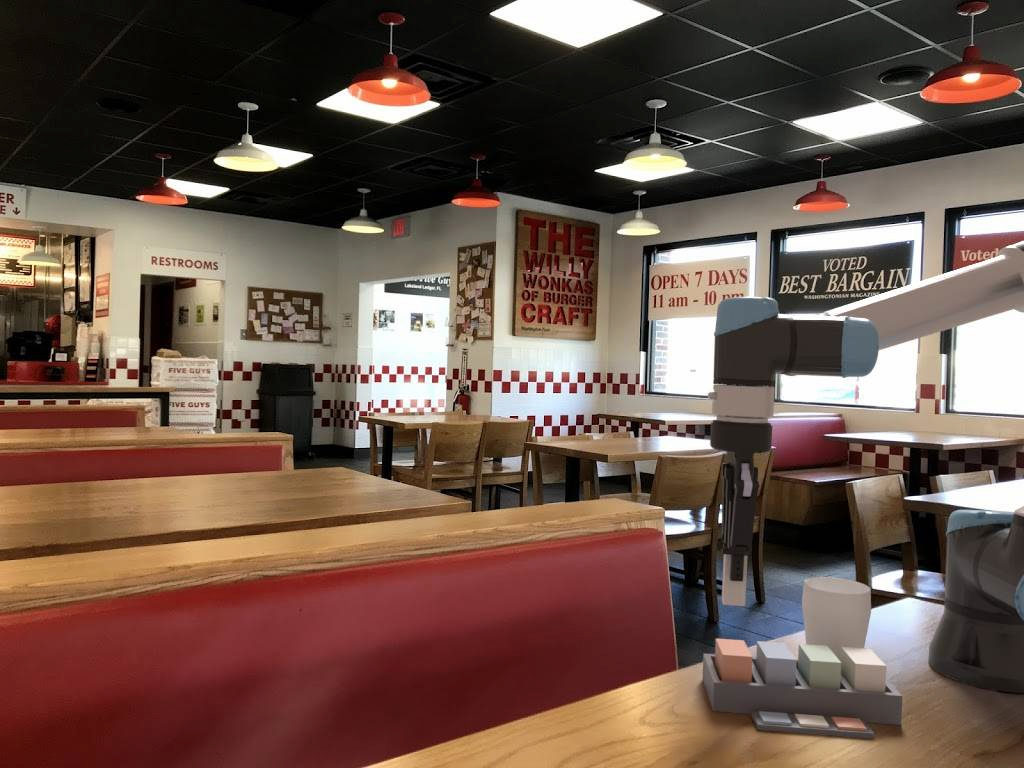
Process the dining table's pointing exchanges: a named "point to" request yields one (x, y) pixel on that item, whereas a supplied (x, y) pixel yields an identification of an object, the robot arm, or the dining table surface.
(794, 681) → the key slate
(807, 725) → the strip
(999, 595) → the robot arm
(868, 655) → the key ivory
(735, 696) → the keypad
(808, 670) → the key sage
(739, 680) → the key terracotta
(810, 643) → the cup
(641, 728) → the dining table surface
